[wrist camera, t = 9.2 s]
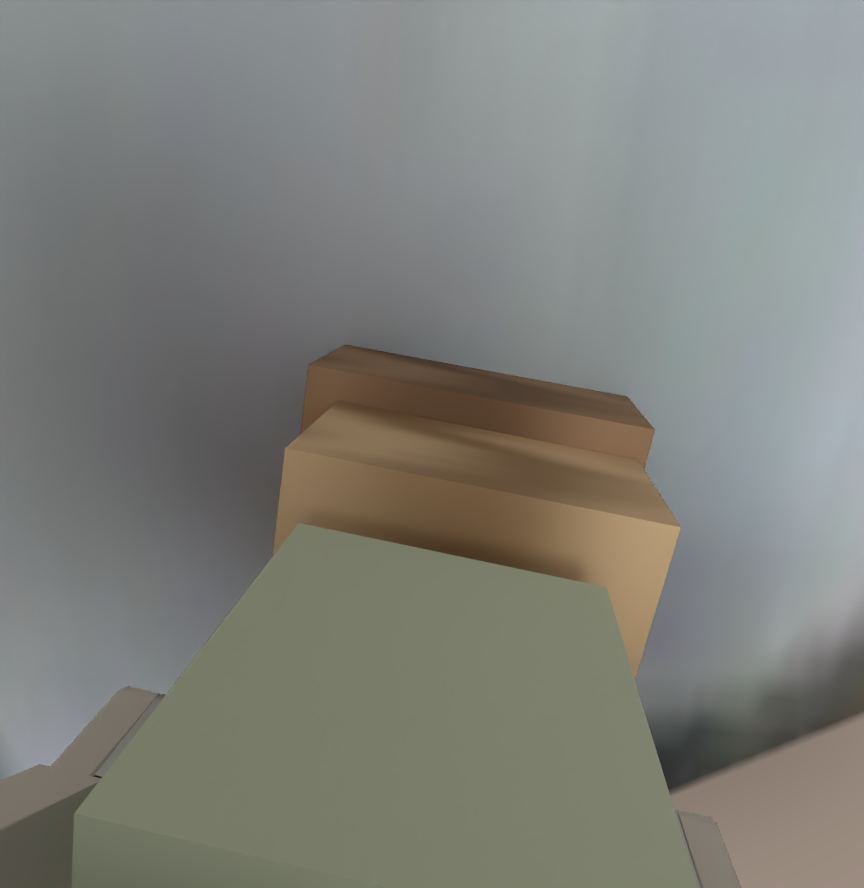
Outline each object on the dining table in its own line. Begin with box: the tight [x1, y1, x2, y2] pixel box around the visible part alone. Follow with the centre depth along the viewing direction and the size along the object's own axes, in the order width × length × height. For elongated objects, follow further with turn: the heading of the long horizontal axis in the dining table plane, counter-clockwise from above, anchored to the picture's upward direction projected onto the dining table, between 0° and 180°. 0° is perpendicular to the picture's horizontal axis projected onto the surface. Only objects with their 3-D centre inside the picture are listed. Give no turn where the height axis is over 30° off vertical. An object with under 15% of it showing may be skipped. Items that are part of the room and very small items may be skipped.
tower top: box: [272, 401, 681, 679], centre depth 15 cm, size 7×7×4 cm
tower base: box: [300, 345, 655, 469], centre depth 19 cm, size 8×8×4 cm
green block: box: [71, 523, 698, 888], centre depth 9 cm, size 5×5×6 cm
